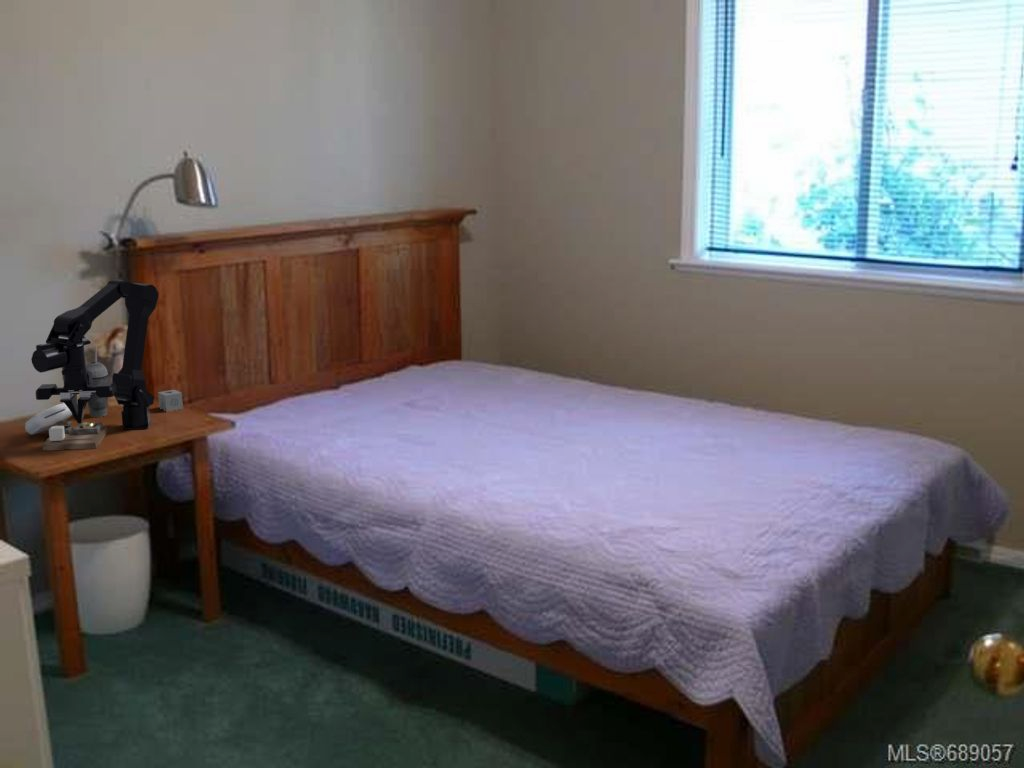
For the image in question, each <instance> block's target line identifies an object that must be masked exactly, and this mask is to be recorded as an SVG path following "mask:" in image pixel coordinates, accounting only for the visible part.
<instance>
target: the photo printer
mask: <svg viewBox="0 0 1024 768" xmlns="http://www.w3.org/2000/svg"><path fill="white" fill-rule="evenodd" d="M72 416H73V414H72V413H71V411H70V410H69V408H68V407H67V406H66V404H65V403H64V402H60V403H59V404H57V405H53V406H51V407H49V408H46V409H44V410H42V411H40V412H38V413H36V414H35V415H33V416H32V417H31V418H29V419H28V420H27V421H26V422H25V423H24V424H25V425H24V428H25V432H26V433H28V434H30V435H31V436H33V435H37V434H39V433H42V432H44V431H47V430H49V429H50V428H51V427H53V426H57V422H66V420H67V419H69V418H71V417H72Z"/></svg>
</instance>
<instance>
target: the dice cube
mask: <svg viewBox="0 0 1024 768" xmlns="http://www.w3.org/2000/svg"><path fill="white" fill-rule="evenodd" d="M157 394H158V396H157V397H158V405H159V406H158V408H161V409H163V410H165V411H171V412H174V411H173V410H176V411H180V409H182V410H184V404H183V393H182V392H181V391H179V390H176V389H170V390H164V391H159V392H157ZM161 409H160V410H161ZM178 409H179V410H178ZM163 410H162V411H163ZM165 411H164V412H165Z"/></svg>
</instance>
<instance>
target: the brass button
mask: <svg viewBox="0 0 1024 768" xmlns="http://www.w3.org/2000/svg"><path fill="white" fill-rule="evenodd" d="M82 428H95V423H94V421H85V422H82Z"/></svg>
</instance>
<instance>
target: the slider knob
mask: <svg viewBox="0 0 1024 768" xmlns="http://www.w3.org/2000/svg"><path fill="white" fill-rule="evenodd" d="M64 426H65V425H59V426H57V425H56V426H53V427H51V428H49V429H48V434H49V435H48V436H49V437H50V441H62V440H63V439H64V438H65V431H64Z"/></svg>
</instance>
